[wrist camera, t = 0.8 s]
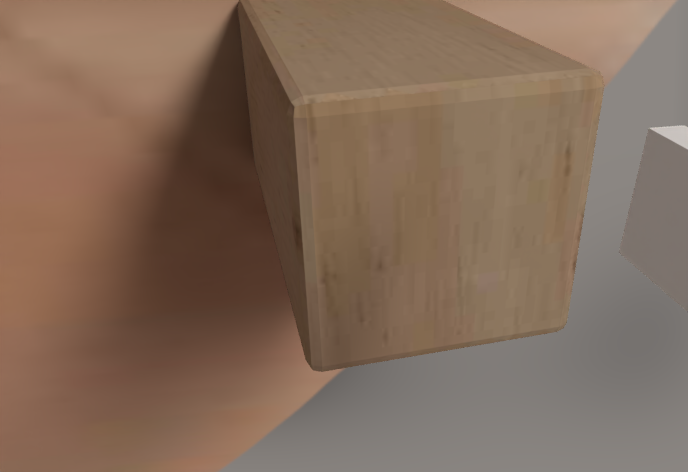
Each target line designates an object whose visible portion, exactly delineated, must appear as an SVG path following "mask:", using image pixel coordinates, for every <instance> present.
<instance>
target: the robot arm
mask: <svg viewBox="0 0 688 472" xmlns="http://www.w3.org/2000/svg"><path fill="white" fill-rule="evenodd" d="M619 253H620V254H621V255H623V256H624V257H625V258H626V259H627V260H628V261H630V262H631V263H632V264H633V265H634V266H635V267H636V268H638V269H639V270H640V271H641V272H642V273H643V274H644V275H646V276H647V277H648V278H649V279H650V280H651V281H652V282H654V283H655V284H656V285H657V286H658V287H659V288H661V289H662V290H663V291H664V292H665V293H666V294H667V295H669V296H670V297H671V298H672V299H673V300H674V301H676V302H677V303H678V304H679V305H680V306H681V307H682V308H684V309H685V310H686V311H687V312H688V127H686V126H684V125H682V126H669V127H656V128H649V129H648V133H647V138H646V142H645V146H644V150H643V154H642V159H641V163H640V167H639V171H638V175H637V179H636V183H635V188H634V192H633V196H632V200H631V204H630V208H629V212H628V217H627V221H626V225H625V229H624V233H623V237H622V242H621V246H620V250H619Z"/></svg>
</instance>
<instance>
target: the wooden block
mask: <svg viewBox="0 0 688 472" xmlns="http://www.w3.org/2000/svg"><path fill="white" fill-rule="evenodd" d="M238 14H239V24H240V33H241V42H242V52H243V61H244V71H245V80H246V89H247V99H248V108H249V118H250V127H251V136H252V146H253V155H254V163H255V167H256V171H257V175H258V179H259V182H260V186H261V190H262V194H263V198H264V202H265V205H266V209H267V213H268V217H269V221H270V224H271V228H272V232H273V236H274V240H275V244H276V247H277V251H278V255H279V259H280V263H281V267H282V270H283V274H284V278H285V282H286V286H287V290H288V293H289V297H290V301H291V305H292V309H293V313H294V316H295V320H296V324H297V328H298V332H299V336H300V339H301V343H302V347H303V351H304V355H305V359H306V361H307V362H308V364H309V365H310V367H311V368H312V369H313V370H314V371H321V372H323V371H329V370H335V369H341V368H347V367H352V366H358V365H364V364H370V363H375V362H382V361H388V360H394V359H399V358H405V357H411V356H417V355H423V354H429V353H435V352H441V351H447V350H452V349H458V348H464V347H470V346H476V345H481V344H488V343H494V342H500V341H505V340H511V339H517V338H523V337H529V336H534V335H541V334H547V333H552V332H557V331H559V330H561V329H563V328H564V326H565V325H566V323H567V317H568V311H569V305H570V298H571V292H572V286H573V280H574V273H575V267H576V261H577V255H578V248H579V242H580V236H581V229H582V223H583V217H584V210H585V204H586V198H587V192H588V185H589V179H590V173H591V166H592V160H593V153H594V147H595V141H596V135H597V129H598V123H599V116H600V110H601V103H602V97H603V91H604V81H603V76H602V74H601V73H600V72H599V71H597V70H595V69H593V68H590V67H588V66H586V65H584V64H582V63H579V62H577V61H575V60H573V59H571V58H568V57H566V56H564V55H562V54H560V53H557V52H555V51H553V50H551V49H549V48H546V47H544V46H542V45H540V44H538V43H535V42H533V41H531V40H529V39H527V38H524V37H522V36H520V35H518V34H516V33H513V32H511V31H509V30H507V29H505V28H502V27H500V26H498V25H496V24H494V23H492V22H489V21H487V20H485V19H483V18H481V17H478V16H476V15H474V14H472V13H470V12H467V11H465V10H463V9H461V8H459V7H456V6H454V5H452V4H450V3H448V2H445V1H443V0H239V3H238Z"/></svg>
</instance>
